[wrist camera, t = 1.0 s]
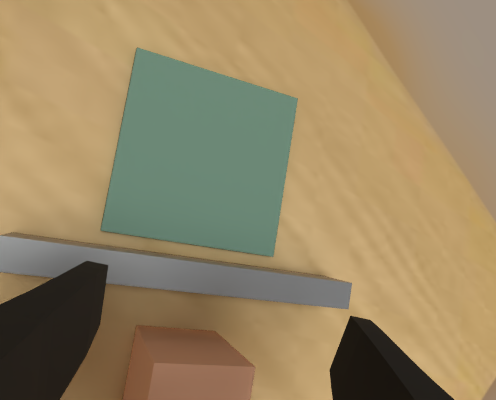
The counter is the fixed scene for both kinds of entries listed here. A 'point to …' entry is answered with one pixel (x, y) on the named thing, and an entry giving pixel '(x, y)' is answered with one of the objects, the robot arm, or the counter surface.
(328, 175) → the counter surface
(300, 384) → the counter surface
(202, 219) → the rubber mat
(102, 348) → the counter surface
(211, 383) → the terracotta block
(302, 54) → the counter surface
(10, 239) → the low wall
